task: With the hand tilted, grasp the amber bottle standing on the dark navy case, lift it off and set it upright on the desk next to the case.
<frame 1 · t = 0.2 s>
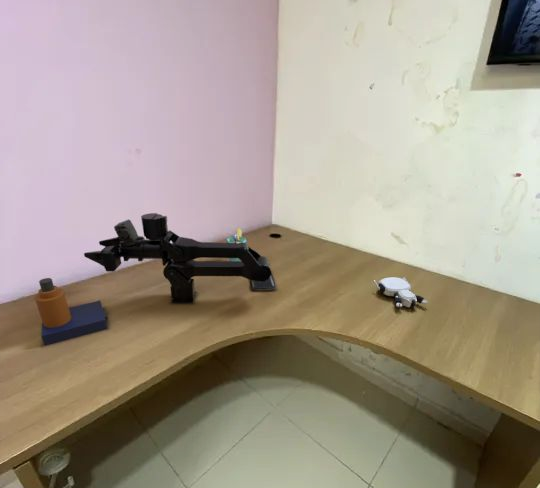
hand: (92, 248, 90), 17 cm above the table, tool horizontal, fingers open, 9 cm apart
robot toy: (398, 299, 104), on the table
case: (76, 325, 84), on the table
cup: (236, 265, 122), on the table
phone: (261, 280, 112), on the table
bottle: (57, 320, 81), point 3 cm above the table, touching case
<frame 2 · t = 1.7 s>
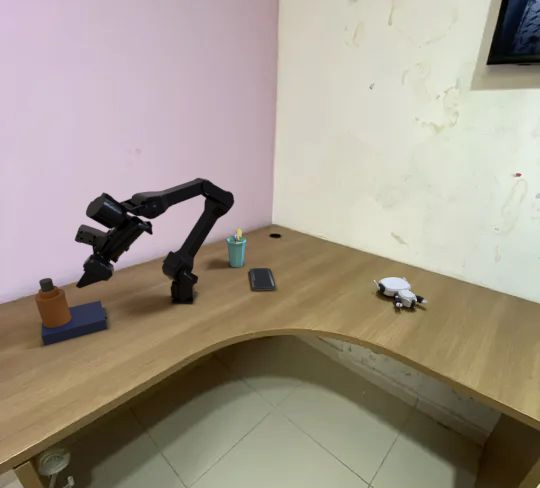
hand: (81, 278, 79), 14 cm above the table, tool tilted 45°, fingers open, 9 cm apart
nothing on the table moved.
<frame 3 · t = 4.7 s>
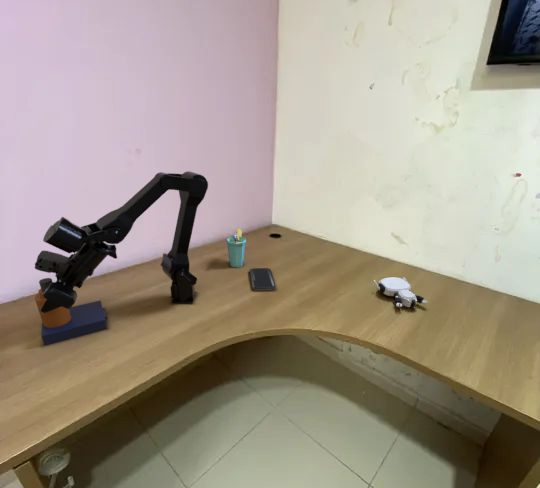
hand: (46, 304, 78), 8 cm above the table, tool tilted 45°, fingers closed on bottle, 6 cm apart
bottle: (57, 320, 81), point 3 cm above the table, touching case, gripper
everything else where it was.
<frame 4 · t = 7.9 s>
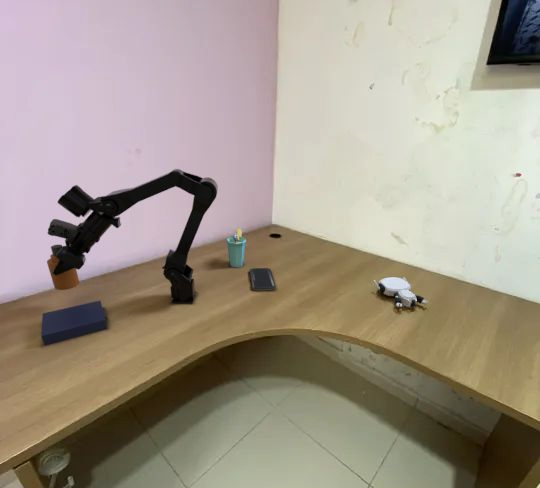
hand: (57, 269, 87), 12 cm above the table, tool tilted 45°, fingers closed on bottle, 6 cm apart
bottle: (67, 284, 89), point 7 cm above the table, touching gripper
everything else where it was.
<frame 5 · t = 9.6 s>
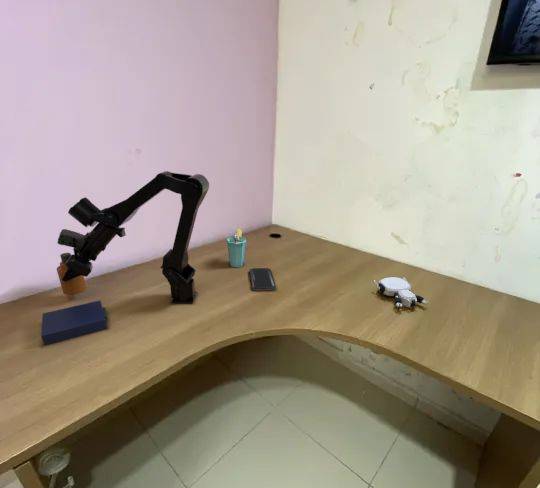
hand: (65, 275, 93), 8 cm above the table, tool tilted 45°, fingers closed on bottle, 6 cm apart
bottle: (75, 290, 95), point 3 cm above the table, touching gripper
everything else where it was.
when the fingers open (5 cm above the table, at t = 11.0 s): bottle stays where it is, on the table.
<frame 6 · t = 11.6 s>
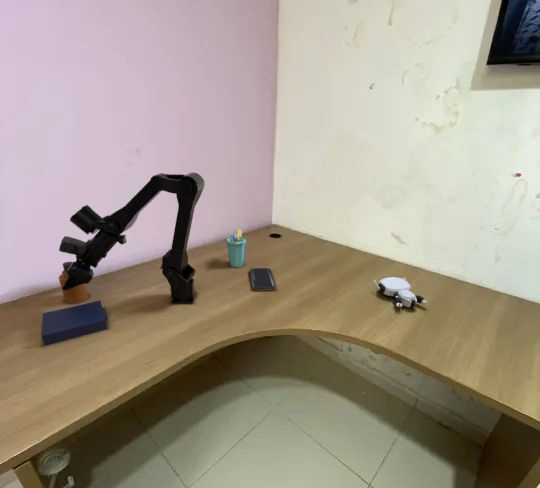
hand: (67, 282, 93), 6 cm above the table, tool tilted 45°, fingers open, 9 cm apart
bottle: (76, 298, 96), on the table
everything else where it was.
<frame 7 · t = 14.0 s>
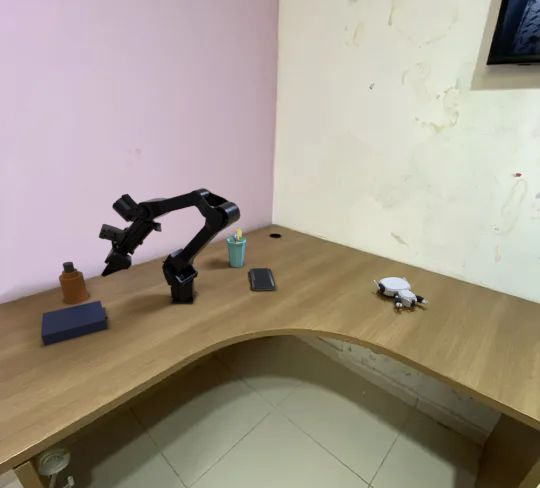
hand: (104, 269, 96), 9 cm above the table, tool tilted 45°, fingers open, 9 cm apart
nothing on the table moved.
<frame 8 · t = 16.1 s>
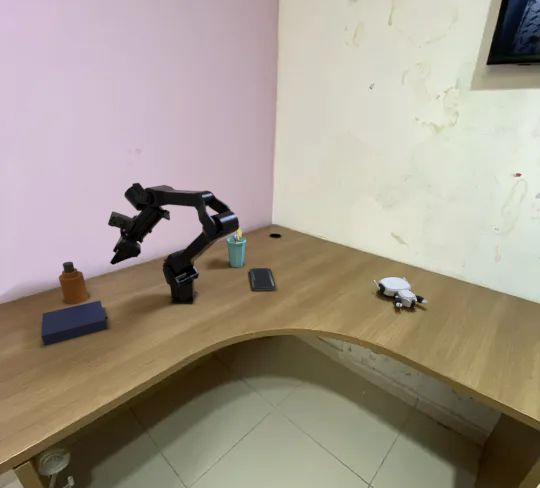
hand: (112, 257, 95), 13 cm above the table, tool tilted 45°, fingers open, 9 cm apart
nothing on the table moved.
at the end: bottle inside the target area (0.1 cm from its centre), on the table; bottle tilted 0°; bottle touching table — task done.
